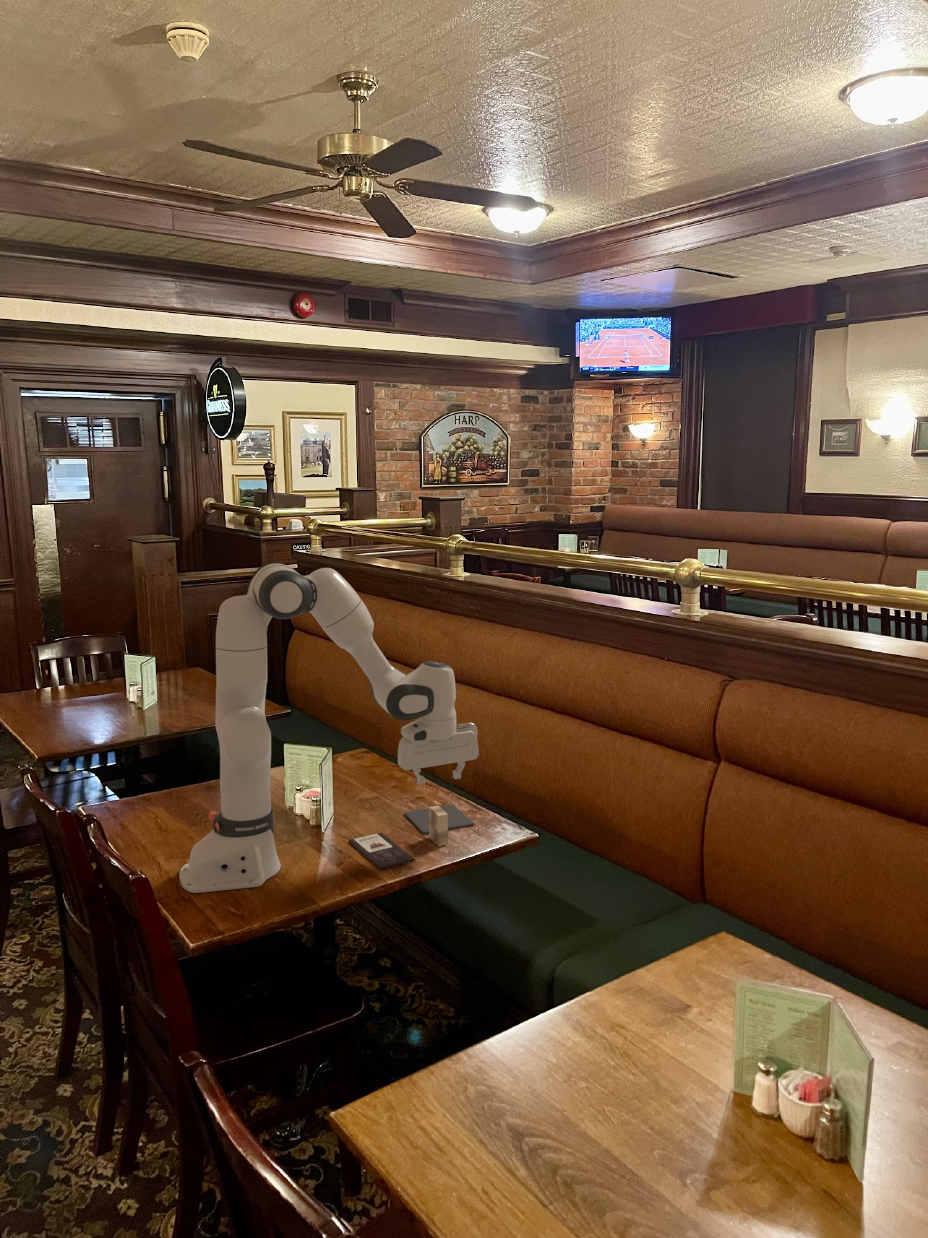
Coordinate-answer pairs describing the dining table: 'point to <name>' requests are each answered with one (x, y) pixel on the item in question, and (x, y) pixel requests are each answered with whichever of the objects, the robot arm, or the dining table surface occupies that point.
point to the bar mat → (454, 818)
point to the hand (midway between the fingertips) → (439, 781)
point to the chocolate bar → (381, 851)
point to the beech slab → (438, 825)
